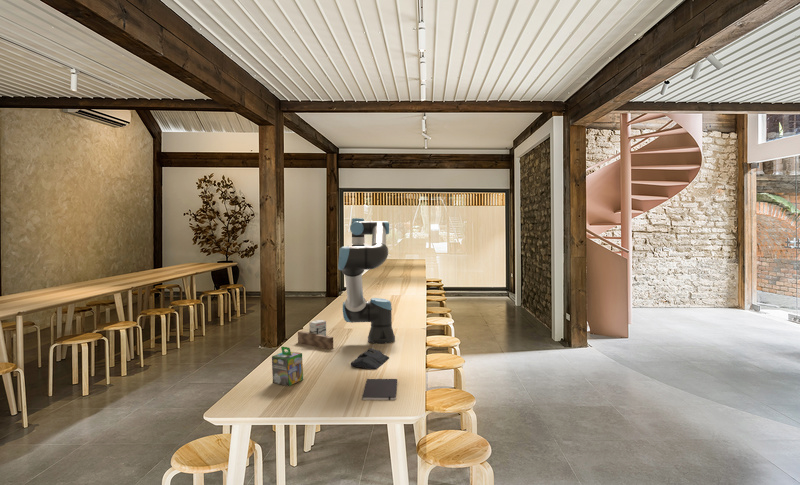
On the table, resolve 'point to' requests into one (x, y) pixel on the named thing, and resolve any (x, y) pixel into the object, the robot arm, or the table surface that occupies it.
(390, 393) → the notebook
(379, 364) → the dark slate chunk
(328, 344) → the walnut board
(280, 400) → the table surface
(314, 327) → the ink box
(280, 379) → the chalk box
